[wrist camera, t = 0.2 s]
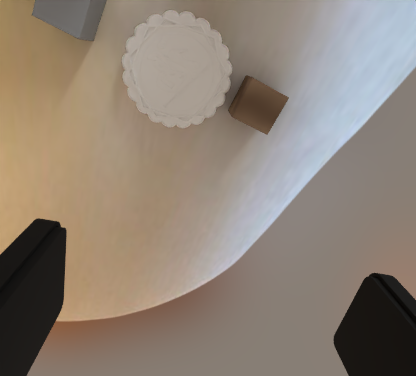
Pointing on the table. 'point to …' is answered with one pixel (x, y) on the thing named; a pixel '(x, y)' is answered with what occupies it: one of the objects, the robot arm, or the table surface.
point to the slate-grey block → (71, 16)
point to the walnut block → (257, 105)
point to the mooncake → (176, 69)
